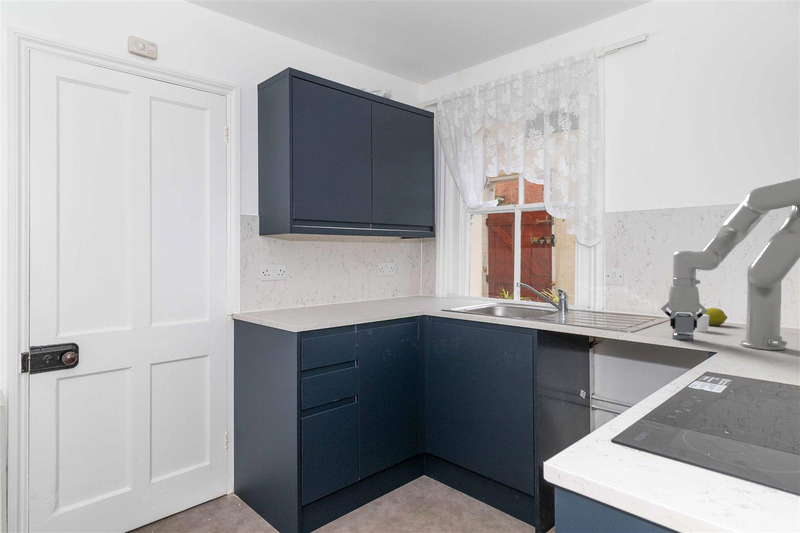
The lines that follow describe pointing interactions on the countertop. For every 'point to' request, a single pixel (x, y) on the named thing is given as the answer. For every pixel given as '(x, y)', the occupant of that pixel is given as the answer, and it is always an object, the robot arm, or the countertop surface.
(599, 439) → the countertop surface
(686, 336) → the toy boat
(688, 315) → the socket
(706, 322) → the white cup
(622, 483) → the countertop surface
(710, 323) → the lemon
